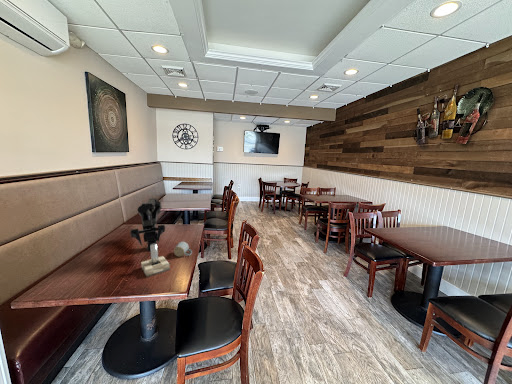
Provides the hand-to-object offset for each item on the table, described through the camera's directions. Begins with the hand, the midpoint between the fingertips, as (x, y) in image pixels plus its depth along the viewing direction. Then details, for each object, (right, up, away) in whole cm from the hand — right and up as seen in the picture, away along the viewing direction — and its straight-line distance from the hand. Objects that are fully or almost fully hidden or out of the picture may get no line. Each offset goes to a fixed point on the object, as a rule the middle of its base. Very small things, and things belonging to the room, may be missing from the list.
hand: (150, 243), depth 125 cm
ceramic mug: (+15, -11, +14) cm, 23 cm away
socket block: (+5, -14, -5) cm, 15 cm away
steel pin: (+5, -13, -5) cm, 15 cm away
